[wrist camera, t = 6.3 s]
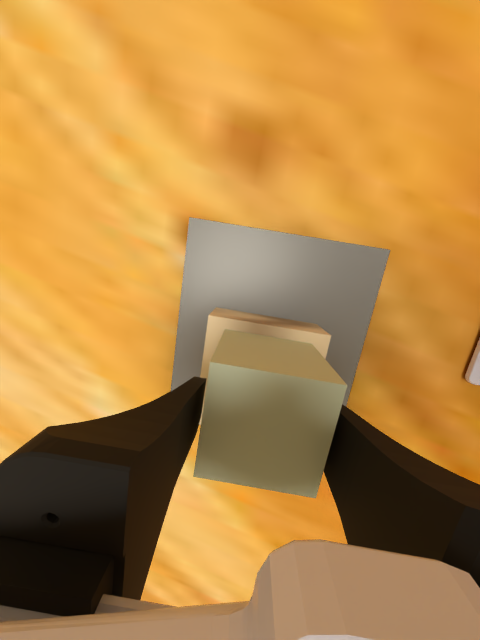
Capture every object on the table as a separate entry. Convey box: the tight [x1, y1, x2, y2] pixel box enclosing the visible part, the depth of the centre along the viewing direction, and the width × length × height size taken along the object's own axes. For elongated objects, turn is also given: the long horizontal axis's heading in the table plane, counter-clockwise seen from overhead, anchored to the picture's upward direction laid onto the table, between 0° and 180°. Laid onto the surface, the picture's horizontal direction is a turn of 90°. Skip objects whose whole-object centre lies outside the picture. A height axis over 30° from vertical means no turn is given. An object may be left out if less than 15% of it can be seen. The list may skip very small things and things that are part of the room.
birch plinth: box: [199, 307, 331, 425], centre depth 15 cm, size 7×7×3 cm
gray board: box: [171, 217, 390, 406], centre depth 17 cm, size 13×14×1 cm
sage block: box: [194, 329, 347, 498], centre depth 11 cm, size 5×5×5 cm
